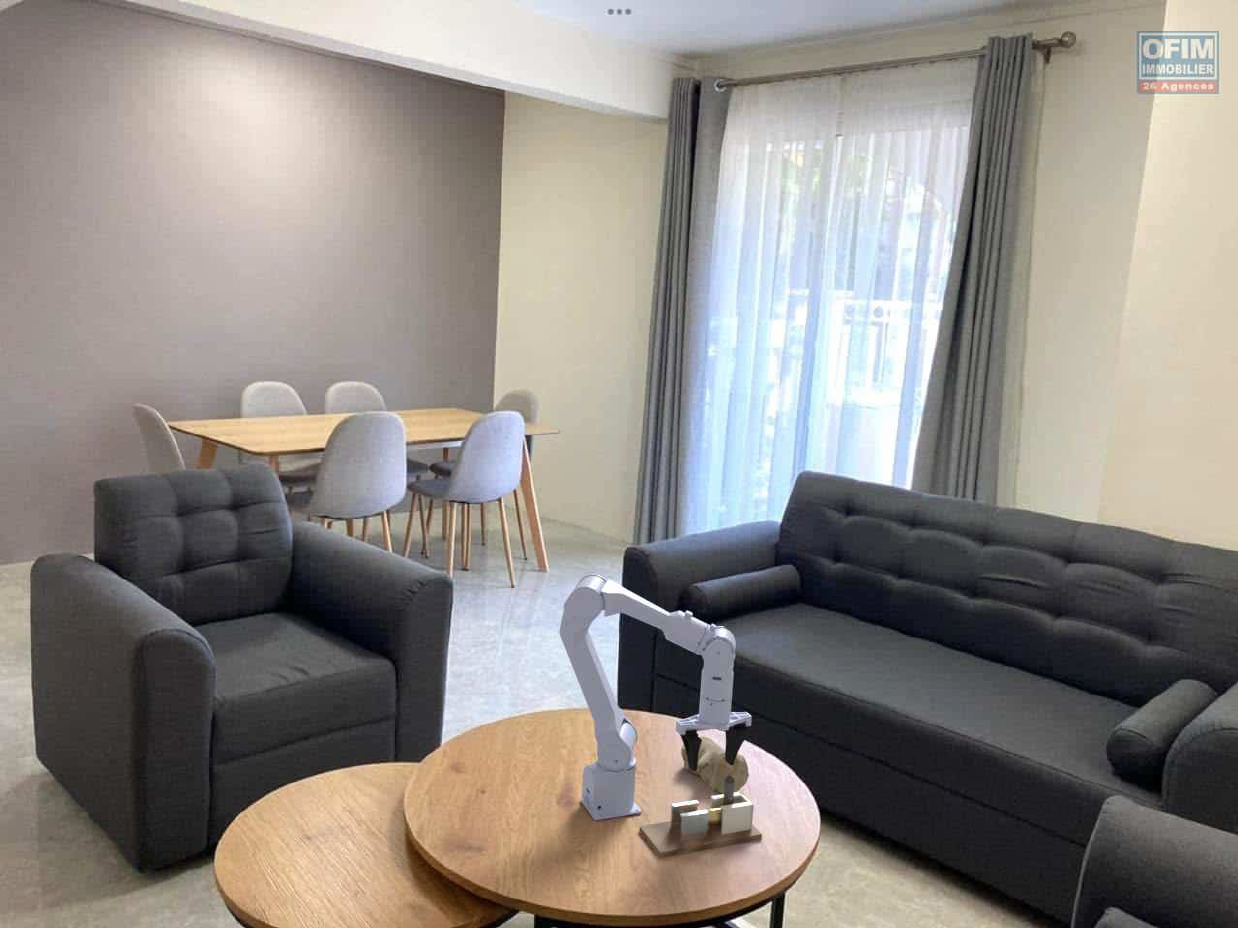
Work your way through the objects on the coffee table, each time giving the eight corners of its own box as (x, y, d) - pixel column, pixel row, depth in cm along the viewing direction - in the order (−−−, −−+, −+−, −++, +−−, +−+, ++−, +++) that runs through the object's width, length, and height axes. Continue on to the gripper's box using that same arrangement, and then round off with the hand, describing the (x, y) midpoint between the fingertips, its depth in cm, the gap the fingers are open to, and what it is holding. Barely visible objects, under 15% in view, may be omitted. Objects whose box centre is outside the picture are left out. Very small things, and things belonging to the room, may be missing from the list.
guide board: (660, 857, 170) (662, 827, 169) (639, 831, 178) (641, 802, 178) (761, 838, 178) (764, 809, 177) (737, 814, 186) (739, 786, 185)
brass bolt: (690, 832, 175) (693, 786, 174) (683, 823, 178) (686, 778, 177) (745, 822, 180) (748, 777, 178) (737, 814, 182) (740, 770, 181)
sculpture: (701, 791, 188) (736, 751, 189) (666, 749, 204) (699, 713, 205) (729, 815, 191) (763, 775, 192) (693, 772, 207) (724, 736, 208)
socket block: (722, 834, 177) (724, 809, 176) (709, 820, 181) (710, 795, 181) (751, 829, 179) (753, 804, 178) (738, 815, 184) (739, 791, 183)
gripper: (690, 708, 174) (685, 780, 176) (762, 699, 180) (756, 769, 182) (672, 693, 180) (668, 763, 183) (742, 685, 186) (737, 753, 188)
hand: (711, 765), depth 183 cm, fingers open, 7 cm apart
